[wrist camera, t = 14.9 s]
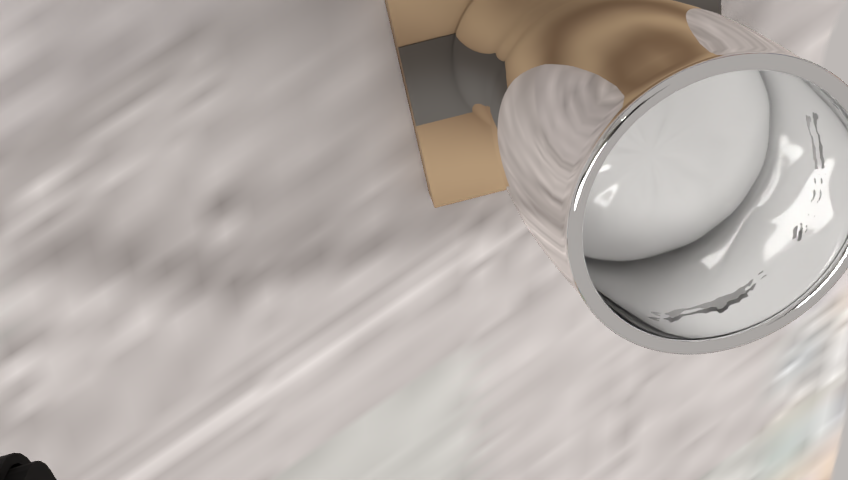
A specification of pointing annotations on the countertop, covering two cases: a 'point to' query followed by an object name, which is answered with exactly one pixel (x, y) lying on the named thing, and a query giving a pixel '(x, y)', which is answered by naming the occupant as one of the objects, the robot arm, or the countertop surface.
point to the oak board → (448, 100)
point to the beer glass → (665, 162)
